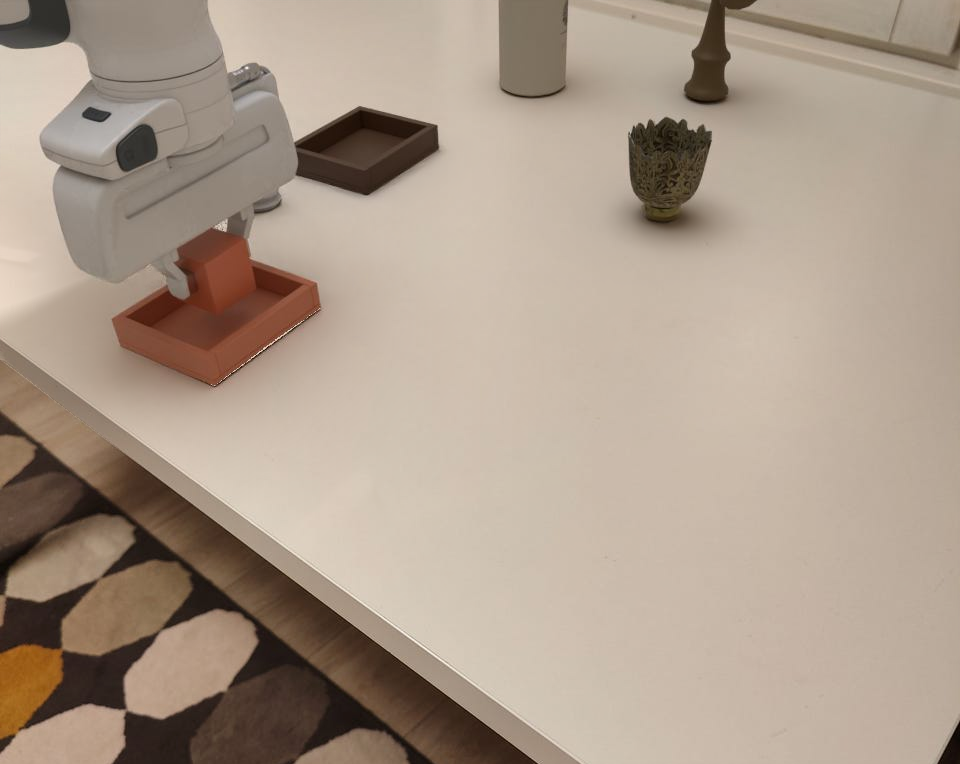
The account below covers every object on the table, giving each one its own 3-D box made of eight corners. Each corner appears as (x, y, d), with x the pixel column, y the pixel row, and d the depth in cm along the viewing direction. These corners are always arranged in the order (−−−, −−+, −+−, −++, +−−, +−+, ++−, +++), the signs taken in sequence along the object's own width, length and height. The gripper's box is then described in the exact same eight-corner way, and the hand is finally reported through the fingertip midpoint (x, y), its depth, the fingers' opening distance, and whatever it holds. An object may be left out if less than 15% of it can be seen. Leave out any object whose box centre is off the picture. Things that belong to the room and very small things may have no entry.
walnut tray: (367, 195, 95) (364, 170, 93) (287, 171, 99) (283, 147, 97) (439, 148, 102) (437, 124, 100) (362, 128, 106) (359, 105, 105)
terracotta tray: (214, 387, 72) (207, 359, 70) (120, 345, 76) (110, 318, 75) (321, 309, 80) (317, 282, 78) (229, 275, 84) (223, 249, 82)
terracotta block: (217, 315, 74) (204, 264, 70) (176, 299, 75) (162, 249, 72) (257, 288, 76) (246, 238, 73) (216, 274, 78) (204, 224, 75)
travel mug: (490, 94, 113) (487, -76, 100) (510, 70, 118) (510, -94, 106) (555, 101, 111) (560, -72, 98) (572, 76, 116) (579, -91, 104)
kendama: (702, 115, 107) (729, -86, 93) (663, 85, 114) (684, -107, 100) (749, 107, 108) (783, -93, 94) (708, 78, 115) (734, -113, 101)
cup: (605, 216, 90) (611, 134, 85) (653, 190, 94) (662, 109, 88) (668, 242, 86) (679, 158, 81) (716, 214, 90) (729, 131, 84)
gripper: (238, 47, 73) (270, 212, 82) (16, 146, 61) (84, 327, 70) (301, 61, 70) (326, 230, 80) (81, 167, 58) (143, 352, 67)
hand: (211, 276), depth 75 cm, fingers closed on terracotta block, 4 cm apart
